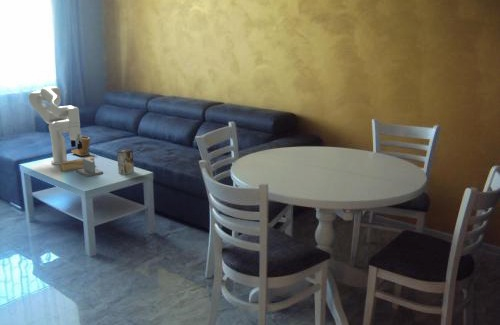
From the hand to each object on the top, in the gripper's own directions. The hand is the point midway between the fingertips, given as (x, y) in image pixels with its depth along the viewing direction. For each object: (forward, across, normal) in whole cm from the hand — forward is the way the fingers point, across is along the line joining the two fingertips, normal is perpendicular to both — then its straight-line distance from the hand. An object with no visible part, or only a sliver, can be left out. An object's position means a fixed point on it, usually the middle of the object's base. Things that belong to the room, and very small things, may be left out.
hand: (76, 147), depth 343 cm
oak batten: (+16, -1, 0) cm, 16 cm away
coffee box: (+16, +33, +19) cm, 41 cm away
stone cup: (+15, -33, +20) cm, 41 cm away
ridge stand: (+16, +16, 0) cm, 22 cm away
